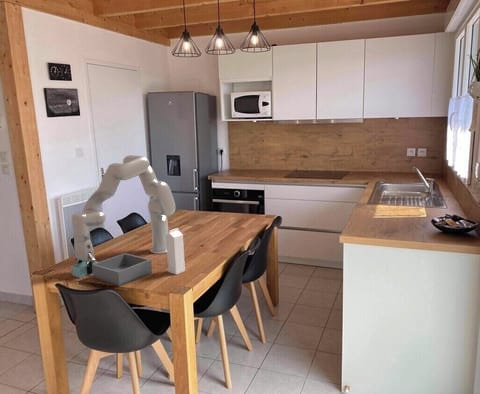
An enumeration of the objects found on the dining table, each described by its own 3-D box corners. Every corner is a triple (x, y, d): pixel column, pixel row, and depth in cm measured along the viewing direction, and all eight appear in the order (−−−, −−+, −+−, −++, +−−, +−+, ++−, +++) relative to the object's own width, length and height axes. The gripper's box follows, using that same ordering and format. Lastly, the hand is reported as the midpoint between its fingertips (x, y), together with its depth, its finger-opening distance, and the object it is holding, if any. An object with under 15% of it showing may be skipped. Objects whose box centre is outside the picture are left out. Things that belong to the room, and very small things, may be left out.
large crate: (126, 265, 221) (125, 253, 219) (152, 273, 209) (151, 259, 208) (93, 278, 205) (91, 264, 204) (119, 286, 193) (118, 272, 192)
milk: (185, 271, 210) (182, 228, 206) (176, 274, 206) (173, 231, 202) (176, 268, 214) (174, 226, 210) (167, 272, 210) (165, 229, 206)
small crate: (91, 268, 218) (90, 259, 217) (99, 271, 214) (98, 262, 213) (72, 275, 209) (70, 266, 208) (80, 278, 205) (79, 268, 204)
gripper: (99, 238, 206) (102, 272, 209) (78, 233, 216) (82, 266, 220) (85, 242, 200) (89, 277, 203) (65, 237, 210) (69, 270, 214)
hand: (85, 271), depth 211 cm, fingers closed on small crate, 7 cm apart
